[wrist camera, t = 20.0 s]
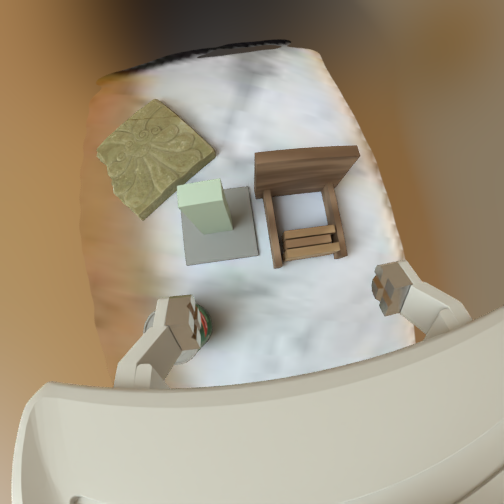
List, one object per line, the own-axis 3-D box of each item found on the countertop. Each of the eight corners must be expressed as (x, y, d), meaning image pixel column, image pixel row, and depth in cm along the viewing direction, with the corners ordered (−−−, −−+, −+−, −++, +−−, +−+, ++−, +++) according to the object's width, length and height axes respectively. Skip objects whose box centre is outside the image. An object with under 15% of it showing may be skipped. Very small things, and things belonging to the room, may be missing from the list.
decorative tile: (159, 103, 50) (154, 94, 46) (217, 157, 48) (215, 148, 45) (94, 161, 48) (85, 154, 45) (141, 225, 47) (134, 220, 43)
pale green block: (233, 230, 45) (222, 200, 29) (203, 234, 45) (178, 207, 29) (231, 215, 45) (220, 178, 30) (201, 219, 45) (176, 185, 30)
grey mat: (258, 255, 45) (258, 255, 45) (187, 265, 45) (186, 265, 44) (247, 187, 47) (247, 186, 46) (180, 198, 47) (179, 197, 46)
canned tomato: (162, 338, 43) (137, 352, 33) (174, 295, 44) (150, 298, 33) (205, 354, 43) (191, 373, 32) (218, 310, 44) (207, 318, 33)
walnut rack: (346, 257, 45) (382, 245, 31) (266, 269, 45) (272, 261, 31) (331, 182, 47) (357, 145, 33) (254, 190, 47) (254, 152, 33)
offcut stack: (331, 254, 45) (342, 249, 39) (283, 261, 45) (288, 257, 39) (326, 230, 46) (336, 222, 40) (279, 236, 46) (283, 229, 40)
